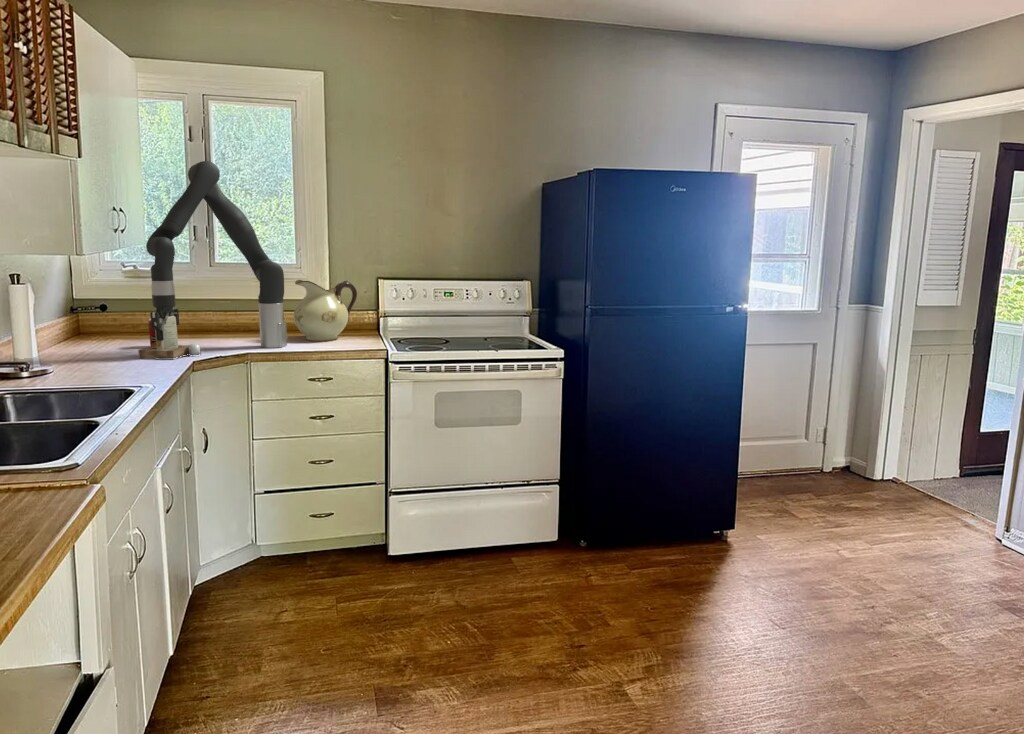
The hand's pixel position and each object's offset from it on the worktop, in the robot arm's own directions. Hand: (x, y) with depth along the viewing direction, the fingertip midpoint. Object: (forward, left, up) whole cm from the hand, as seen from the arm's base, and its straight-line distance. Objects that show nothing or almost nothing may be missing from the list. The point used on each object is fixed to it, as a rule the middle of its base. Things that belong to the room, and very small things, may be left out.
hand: (166, 339), depth 270 cm
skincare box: (0, 0, -4) cm, 4 cm away
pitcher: (-38, -53, -6) cm, 66 cm away
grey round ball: (-9, -2, -6) cm, 11 cm away
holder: (0, 0, -6) cm, 6 cm away
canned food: (+15, -20, -6) cm, 26 cm away
